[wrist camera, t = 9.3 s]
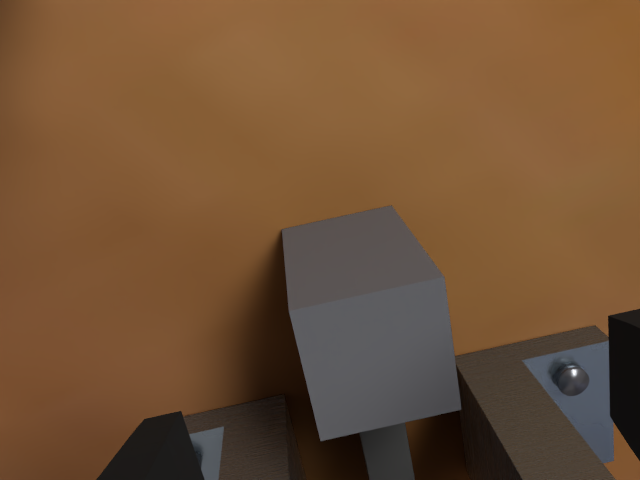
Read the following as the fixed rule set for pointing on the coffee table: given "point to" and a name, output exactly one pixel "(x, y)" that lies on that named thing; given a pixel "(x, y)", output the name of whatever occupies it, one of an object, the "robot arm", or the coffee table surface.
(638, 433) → the robot arm
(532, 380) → the housing
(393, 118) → the coffee table surface
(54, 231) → the coffee table surface
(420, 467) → the coffee table surface
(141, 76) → the coffee table surface
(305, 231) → the plug
